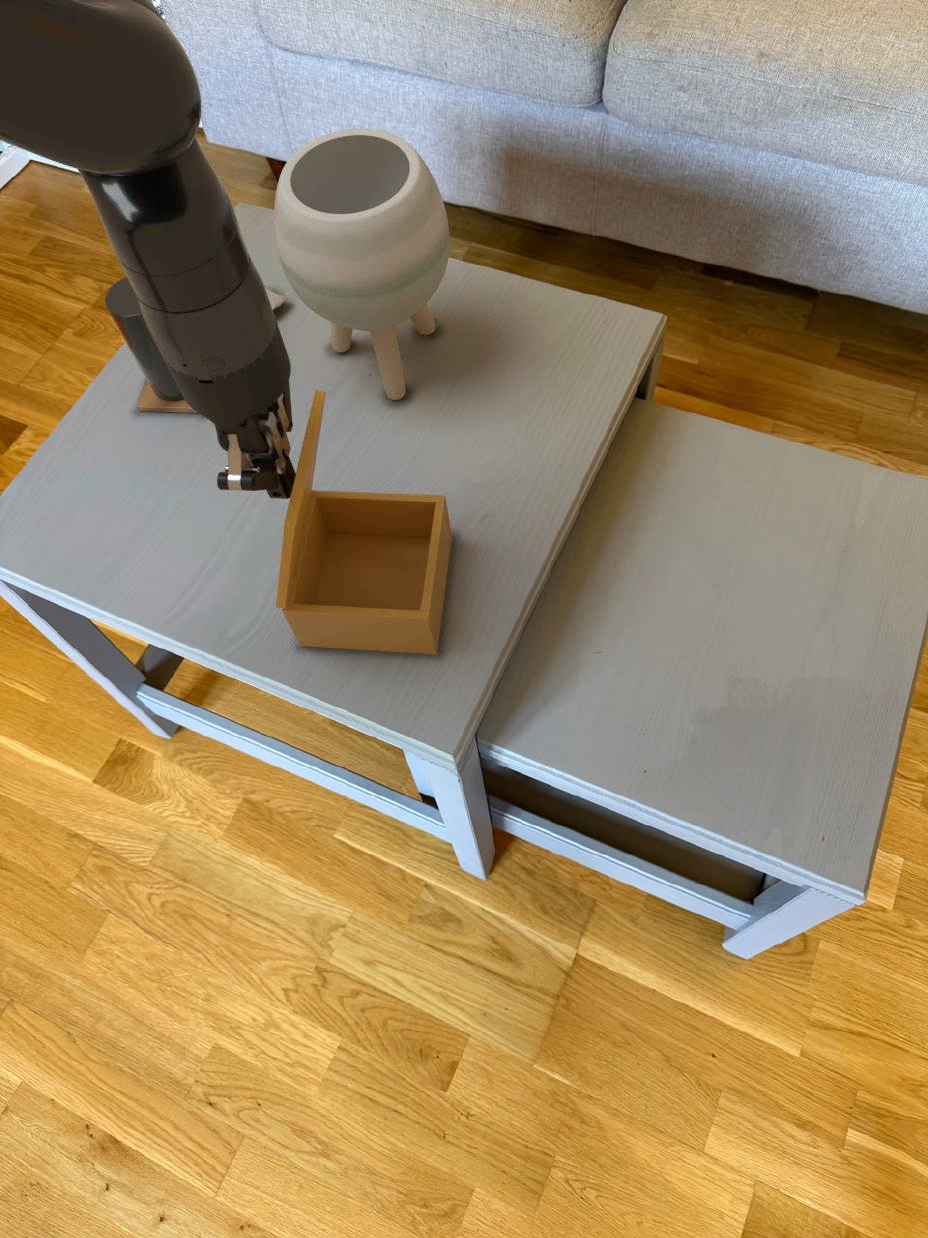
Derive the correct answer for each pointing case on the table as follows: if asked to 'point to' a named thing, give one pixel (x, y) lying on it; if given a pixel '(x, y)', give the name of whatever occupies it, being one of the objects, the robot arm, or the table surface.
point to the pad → (160, 403)
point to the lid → (299, 499)
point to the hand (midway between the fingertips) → (284, 490)
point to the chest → (371, 572)
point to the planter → (363, 238)
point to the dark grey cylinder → (140, 340)
